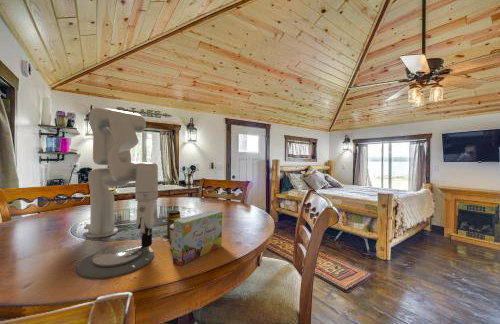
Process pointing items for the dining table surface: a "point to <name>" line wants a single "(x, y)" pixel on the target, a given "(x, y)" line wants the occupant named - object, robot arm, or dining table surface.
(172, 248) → the teacup with lid
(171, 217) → the condiment
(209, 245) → the snack box
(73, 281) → the dining table surface
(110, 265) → the dial
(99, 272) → the dial plate
